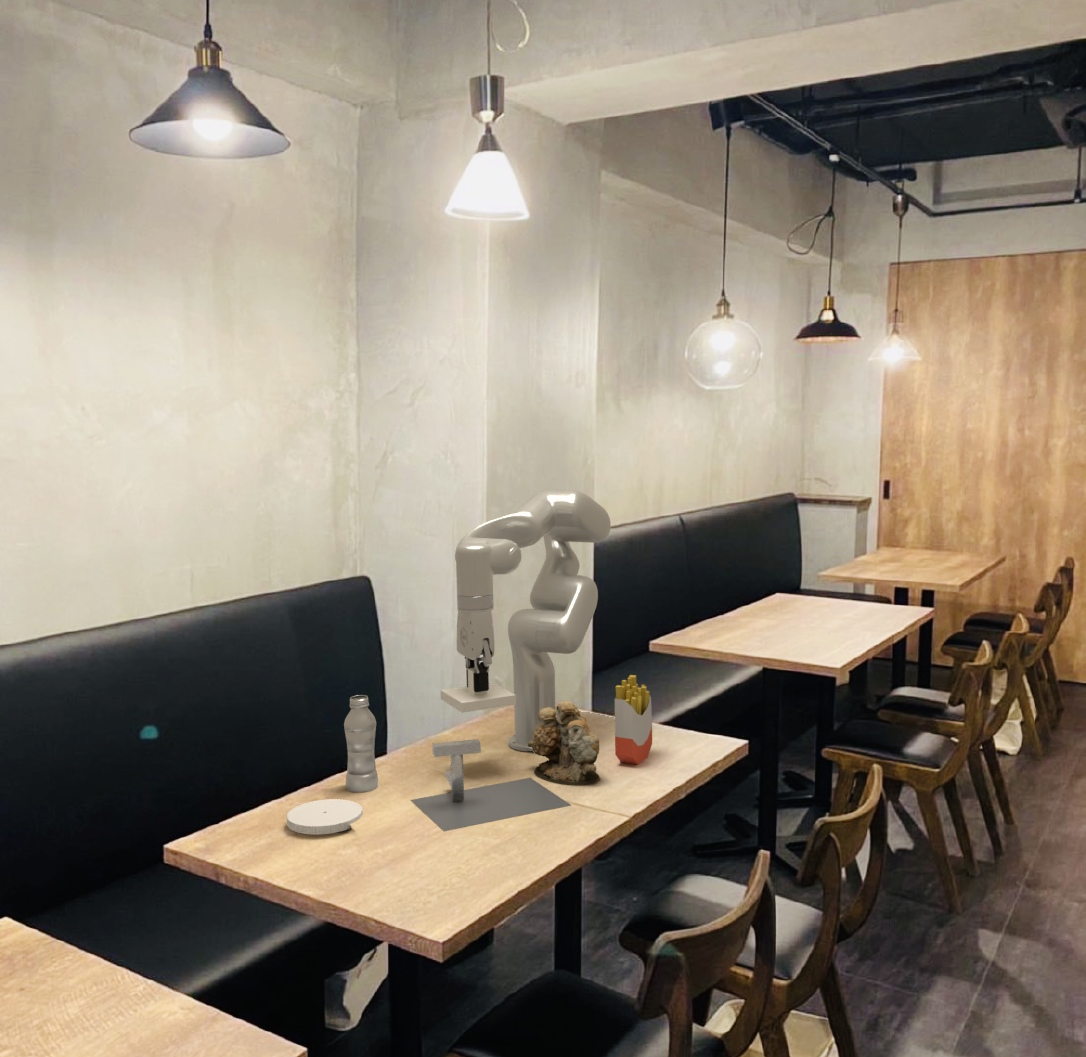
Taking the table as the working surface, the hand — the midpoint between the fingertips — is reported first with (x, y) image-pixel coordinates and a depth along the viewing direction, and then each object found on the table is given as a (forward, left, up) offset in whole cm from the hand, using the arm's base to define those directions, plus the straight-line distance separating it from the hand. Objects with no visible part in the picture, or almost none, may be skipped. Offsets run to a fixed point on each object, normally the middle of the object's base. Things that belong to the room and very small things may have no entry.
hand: (477, 688), depth 221 cm
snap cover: (0, 0, -3) cm, 3 cm away
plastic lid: (+36, +10, -20) cm, 42 cm away
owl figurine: (-14, +12, -19) cm, 27 cm away
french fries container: (-34, +7, -19) cm, 40 cm away
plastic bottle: (+25, -2, -19) cm, 32 cm away
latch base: (+6, +19, -19) cm, 27 cm away
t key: (+10, +12, -17) cm, 23 cm away
